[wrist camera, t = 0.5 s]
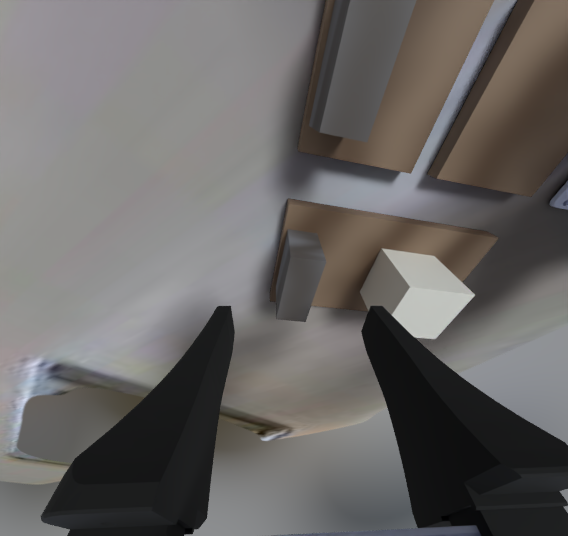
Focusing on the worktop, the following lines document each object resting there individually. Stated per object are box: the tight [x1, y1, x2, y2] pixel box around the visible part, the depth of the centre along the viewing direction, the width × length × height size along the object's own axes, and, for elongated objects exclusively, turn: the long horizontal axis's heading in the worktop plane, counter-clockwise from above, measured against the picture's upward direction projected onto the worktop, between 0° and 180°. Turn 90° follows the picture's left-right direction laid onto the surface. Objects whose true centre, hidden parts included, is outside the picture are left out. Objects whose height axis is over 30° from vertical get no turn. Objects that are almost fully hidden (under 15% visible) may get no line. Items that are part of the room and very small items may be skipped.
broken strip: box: [297, 0, 568, 197], centre depth 12 cm, size 18×9×5 cm, turn 80°
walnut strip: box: [270, 199, 499, 322], centre depth 20 cm, size 18×10×5 cm, turn 80°
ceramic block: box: [360, 248, 475, 339], centre depth 19 cm, size 5×5×5 cm
